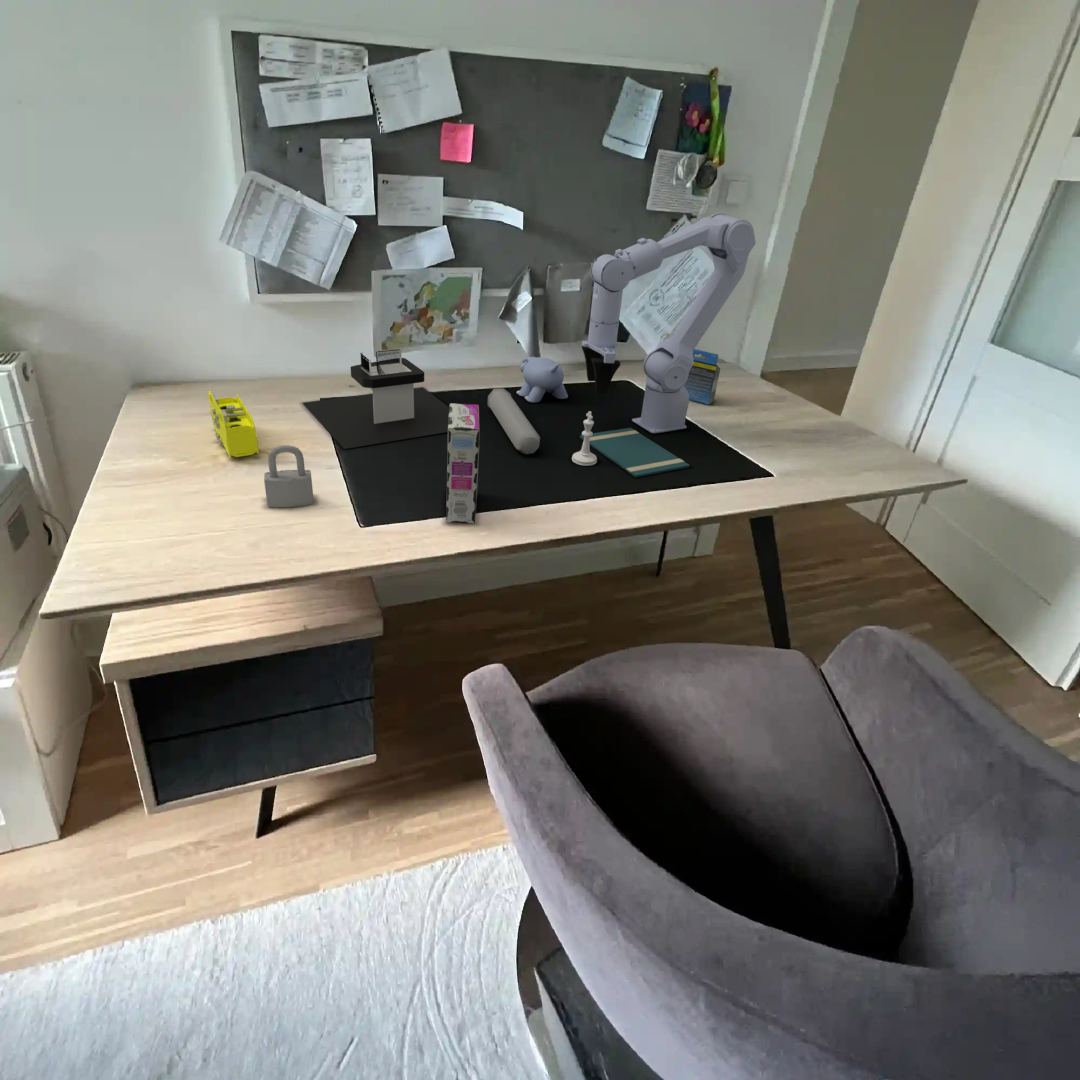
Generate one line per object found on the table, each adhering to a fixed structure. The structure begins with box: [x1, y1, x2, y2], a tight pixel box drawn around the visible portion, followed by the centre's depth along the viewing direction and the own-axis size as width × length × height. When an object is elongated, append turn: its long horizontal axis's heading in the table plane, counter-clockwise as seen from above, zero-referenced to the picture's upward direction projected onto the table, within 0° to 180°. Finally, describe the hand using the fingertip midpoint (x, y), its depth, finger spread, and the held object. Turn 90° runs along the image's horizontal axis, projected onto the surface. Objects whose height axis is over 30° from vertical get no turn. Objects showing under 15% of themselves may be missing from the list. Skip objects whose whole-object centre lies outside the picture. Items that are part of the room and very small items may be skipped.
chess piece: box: [571, 410, 598, 467], centre depth 138 cm, size 5×5×10 cm
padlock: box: [263, 444, 315, 508], centre depth 116 cm, size 7×4×10 cm, turn 107°
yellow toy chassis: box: [208, 390, 260, 459], centre depth 134 cm, size 16×6×8 cm, turn 31°
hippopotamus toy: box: [516, 356, 569, 403], centre depth 169 cm, size 11×15×10 cm
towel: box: [579, 427, 690, 478], centre depth 146 cm, size 13×20×1 cm, turn 29°
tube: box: [487, 388, 541, 455], centre depth 149 cm, size 5×5×25 cm
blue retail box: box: [684, 348, 721, 406], centre depth 173 cm, size 9×4×12 cm, turn 58°
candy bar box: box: [445, 403, 481, 525], centre depth 117 cm, size 11×5×16 cm, turn 5°
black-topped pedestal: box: [302, 347, 450, 450], centre depth 150 cm, size 28×26×13 cm
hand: (596, 386), depth 150 cm, fingers open, 7 cm apart
